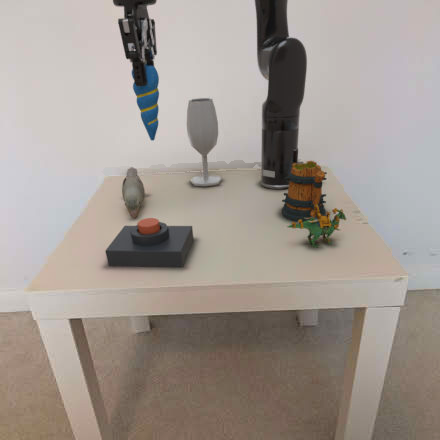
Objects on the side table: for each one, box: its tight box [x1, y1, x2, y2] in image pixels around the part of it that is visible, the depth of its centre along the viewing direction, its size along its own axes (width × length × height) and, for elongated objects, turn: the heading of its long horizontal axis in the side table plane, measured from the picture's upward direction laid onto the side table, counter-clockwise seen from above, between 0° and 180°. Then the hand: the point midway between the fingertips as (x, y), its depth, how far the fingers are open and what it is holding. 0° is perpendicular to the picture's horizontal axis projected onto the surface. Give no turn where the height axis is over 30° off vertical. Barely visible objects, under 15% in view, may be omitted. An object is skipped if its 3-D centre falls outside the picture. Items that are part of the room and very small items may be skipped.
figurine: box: [286, 204, 347, 248], centre depth 74 cm, size 3×12×8 cm, turn 105°
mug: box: [281, 160, 328, 223], centre depth 85 cm, size 13×10×12 cm
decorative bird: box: [121, 166, 146, 219], centre depth 96 cm, size 5×16×8 cm, turn 9°
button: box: [136, 217, 160, 234], centre depth 74 cm, size 4×4×2 cm
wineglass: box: [186, 97, 222, 187], centre depth 105 cm, size 9×9×21 cm
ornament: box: [131, 56, 160, 141], centre depth 78 cm, size 5×5×15 cm
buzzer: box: [104, 221, 194, 268], centre depth 76 cm, size 14×11×5 cm
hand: (146, 83), depth 76 cm, fingers closed on ornament, 5 cm apart
